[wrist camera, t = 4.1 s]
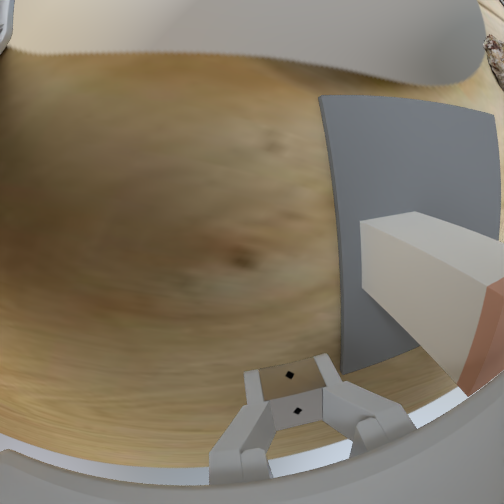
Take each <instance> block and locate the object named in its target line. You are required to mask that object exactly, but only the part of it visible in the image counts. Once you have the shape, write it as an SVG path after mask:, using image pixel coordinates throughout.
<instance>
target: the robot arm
mask: <svg viewBox="0 0 504 504" xmlns="http://www.w3.org/2000/svg"><path fill="white" fill-rule="evenodd" d="M14 2H15V0H0V54H1V53H2V51H3V50H4V49H5V47H6V46H7V44H8V42H9V41H10V39H11V36H12V30H13V12H14ZM258 370H259V371H258ZM244 382H245V390H246V399H247V405H243V406H242V408H241V409H240V411H239V412H238V414H237V415H236V416H235V418H234V419H233V421H232V422H231V424H230V425H229V426H228V428H227V429H226V431H225V432H224V433H223V435H222V436H221V437H220V439H219V440H218V442H217V443H216V444H215V446H214V447H213V448H212V450H211V451H210V452H209V485H200V486H177V485H175V486H174V485H154V484H143V483H134V482H126V481H118V480H113V479H107V478H101V477H96V476H92V475H87V474H83V473H78V472H74V471H71V470H67V469H64V468H60V467H57V466H53V465H51V464H47V463H44V462H41V461H39V460H36V459H33V458H30V457H28V456H26V455H23V454H21V453H18V452H16V451H13V450H10V449H6V450H4V451H1V452H0V504H504V371H503V372H501V373H500V374H499V375H498V376H497V377H495V378H494V379H493V380H492V381H491V382H489V383H488V384H487V385H485V386H484V387H483V388H482V389H480V390H479V391H477V392H476V393H475V394H473V395H472V396H471V397H469V398H468V399H466V400H465V401H463V402H462V403H461V404H459V405H457V406H456V407H454V408H453V409H451V410H450V411H448V412H446V413H445V414H443V415H442V416H440V417H438V418H436V419H435V420H433V421H431V422H430V423H428V424H426V425H424V426H423V427H420V428H418V429H417V428H416V427H415V426H414V424H413V422H412V421H411V419H410V418H409V416H408V415H407V413H406V412H405V410H404V409H403V407H402V406H401V404H399V403H396V402H394V401H391V400H389V399H387V398H384V397H382V396H380V395H377V394H375V393H373V392H370V391H368V390H366V389H364V388H361V387H359V386H357V385H355V384H353V383H350V382H348V381H344V382H342V380H341V378H340V376H339V374H338V372H337V370H336V369H335V367H334V365H333V363H332V361H331V359H330V357H329V356H328V354H326V353H324V354H321V355H317V356H314V357H310V358H307V359H303V360H299V361H295V362H291V363H286V364H282V365H277V366H272V367H266V368H260V369H256V370H250V371H244ZM319 420H323V421H324V422H325V423H327V424H328V425H330V426H331V427H332V428H334V429H335V430H337V431H338V432H340V433H341V434H342V435H344V436H345V437H347V438H348V439H350V440H352V441H353V444H352V449H351V453H350V457H349V459H346V460H343V461H340V462H337V463H334V464H330V465H327V466H324V467H320V468H317V469H313V470H309V471H305V472H300V473H296V474H292V475H287V476H282V477H277V478H273V475H272V472H271V469H270V466H269V463H268V460H267V457H266V453H267V451H268V448H269V446H270V444H271V442H272V440H273V438H274V436H275V433H276V431H278V430H282V429H287V428H291V427H294V426H298V425H303V424H307V423H311V422H315V421H319Z"/></svg>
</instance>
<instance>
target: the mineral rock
mask: <svg viewBox="0 0 504 504" xmlns="http://www.w3.org/2000/svg"><path fill="white" fill-rule="evenodd" d="M483 48H484V49H485V51H487V56H488V60H489V64H490V65H491V67H492V70H493V72H494V73H495V74H496V77H497V78H498V81H499V85H500V86H501V88H502V89H504V42H502V41H500V40H498V39H496V38H495V37H494V36H492V35H490V34H489V36H487V38H486V39H485V40H484V43H483Z"/></svg>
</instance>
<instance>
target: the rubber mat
mask: <svg viewBox="0 0 504 504" xmlns="http://www.w3.org/2000/svg"><path fill="white" fill-rule="evenodd" d="M318 100H319V105H320V110H321V115H322V121H323V126H324V132H325V138H326V144H327V150H328V157H329V163H330V171H331V178H332V186H333V195H334V204H335V213H336V224H337V236H338V250H339V266H340V290H341V365H340V371H341V373H342V375H344V374H348V373H351V372H354V371H357V370H360V369H363V368H366V367H368V366H371V365H374V364H377V363H379V362H382V361H385V360H387V359H390V358H392V357H395V356H397V355H400V354H402V353H405V352H407V351H410V350H412V349H414V348H416V347H419V346H420V344H419V343H418V342H417V341H416V340H415V339H414V338H413V337H412V336H411V335H410V334H409V333H408V332H407V331H406V330H405V329H404V328H403V327H402V326H401V325H400V324H399V323H398V322H397V321H396V320H395V319H394V318H393V317H392V316H391V315H390V314H389V313H388V312H387V311H386V310H385V309H383V308H382V307H381V306H380V305H379V304H378V303H377V302H376V301H375V300H374V299H373V298H372V297H371V296H370V295H369V294H368V293H367V292H366V291H365V290H364V289H363V288H362V261H361V235H360V221H363V220H369V219H374V218H380V217H386V216H391V215H397V214H403V213H408V212H414V211H415V212H419V213H422V214H425V215H428V216H431V217H434V218H437V219H440V220H443V221H446V222H449V223H452V224H455V225H458V226H461V227H463V228H466V229H469V230H472V231H474V232H477V233H479V234H482V235H485V236H487V237H490V238H492V239H495V240H497V241H498V240H499V228H500V210H501V177H500V159H499V148H498V139H497V131H496V124H495V118H494V115H492V114H488V113H485V112H481V111H477V110H472V109H468V108H463V107H459V106H454V105H448V104H443V103H437V102H430V101H423V100H415V99H407V98H396V97H384V96H364V95H321V96H319V97H318Z"/></svg>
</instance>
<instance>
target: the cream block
mask: <svg viewBox="0 0 504 504" xmlns="http://www.w3.org/2000/svg"><path fill="white" fill-rule="evenodd" d="M360 235H361V261H362V288H363V289H364V290H365V291H366V292H367V293H368V294H369V295H370V296H371V297H372V298H373V299H374V300H375V301H376V302H377V303H378V304H379V305H380V306H381V307H382V308H383V309H385V310H386V311H387V312H388V313H389V314H390V315H391V316H392V317H393V318H394V319H395V320H396V321H397V322H398V323H399V324H400V325H401V326H402V327H403V328H404V329H405V330H406V331H407V332H408V333H409V334H410V335H411V336H412V337H413V338H414V339H415V340H416V341H417V342H418V343H419V344H420V346H421V347H422V348H423V349H424V350H425V351H426V352H427V353H428V354H429V355H430V356H431V357H432V358H433V359H434V360H435V361H436V362H437V363H438V364H439V365H440V367H441V368H442V369H443V370H444V371H445V372H446V373H447V374H448V375H449V376H450V377H451V378H452V380H453V381H454V382H455V383H456V384H457V385H458V386H459V387H460V388H461V389H462V391H463V392H464V393H465V394H466V395H467V396H468V397H469V396H470V395H472V394H473V393H474V392H476V391H477V390H479V389H480V388H481V387H483V386H484V385H485V384H487V383H488V382H489V381H490V380H491V379H493V378H494V377H495V376H497V375H498V374H499V373H500V372H501V371H503V370H504V243H502V242H500V241H497V240H495V239H492V238H490V237H487V236H485V235H482V234H479V233H477V232H474V231H472V230H469V229H466V228H463V227H461V226H458V225H455V224H452V223H449V222H446V221H443V220H440V219H437V218H434V217H431V216H428V215H425V214H422V213H419V212H415V211H414V212H408V213H403V214H397V215H391V216H386V217H380V218H374V219H369V220H363V221H360Z"/></svg>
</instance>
